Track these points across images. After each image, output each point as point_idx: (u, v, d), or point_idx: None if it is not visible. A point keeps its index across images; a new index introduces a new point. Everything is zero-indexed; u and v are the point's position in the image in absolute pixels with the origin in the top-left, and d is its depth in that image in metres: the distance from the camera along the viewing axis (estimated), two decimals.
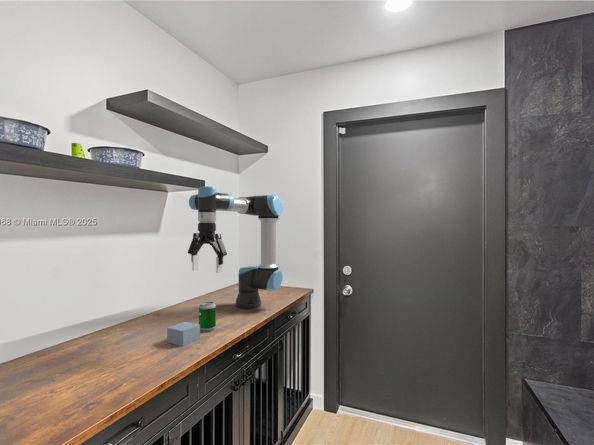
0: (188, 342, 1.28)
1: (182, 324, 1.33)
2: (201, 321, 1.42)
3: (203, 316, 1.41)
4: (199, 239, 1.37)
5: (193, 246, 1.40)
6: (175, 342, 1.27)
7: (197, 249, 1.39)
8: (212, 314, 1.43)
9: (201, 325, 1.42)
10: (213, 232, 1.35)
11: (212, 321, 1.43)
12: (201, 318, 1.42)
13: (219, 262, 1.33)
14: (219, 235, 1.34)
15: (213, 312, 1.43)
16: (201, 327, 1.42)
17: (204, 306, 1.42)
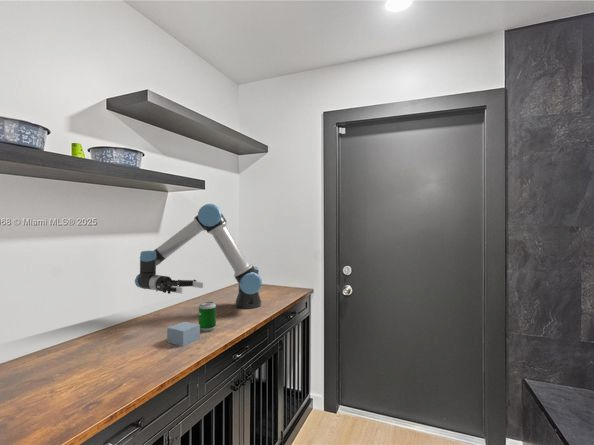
0: (188, 342, 1.28)
1: (182, 324, 1.33)
2: (201, 321, 1.42)
3: (203, 316, 1.41)
4: None
5: None
6: (175, 342, 1.27)
7: (187, 284, 1.58)
8: (212, 314, 1.43)
9: (201, 325, 1.42)
10: None
11: (212, 321, 1.43)
12: (201, 318, 1.42)
13: None
14: (157, 286, 1.49)
15: (213, 312, 1.43)
16: (201, 327, 1.42)
17: (204, 306, 1.42)
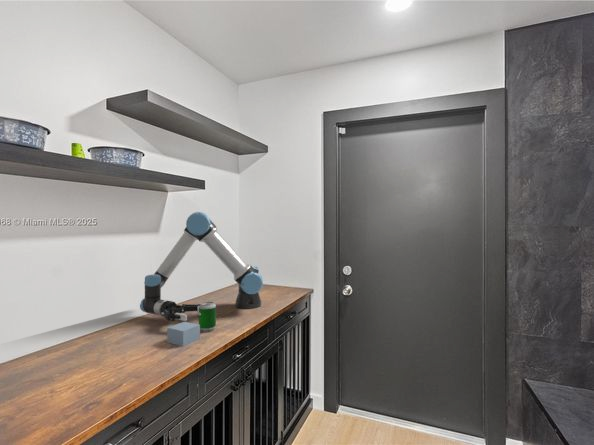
0: (188, 342, 1.28)
1: (182, 324, 1.33)
2: (201, 321, 1.42)
3: (203, 316, 1.41)
4: None
5: None
6: (175, 342, 1.27)
7: (191, 309, 1.56)
8: (212, 314, 1.43)
9: (201, 325, 1.42)
10: (165, 311, 1.51)
11: (212, 321, 1.43)
12: (201, 318, 1.42)
13: None
14: (162, 312, 1.48)
15: (213, 312, 1.43)
16: (201, 327, 1.42)
17: (204, 306, 1.42)
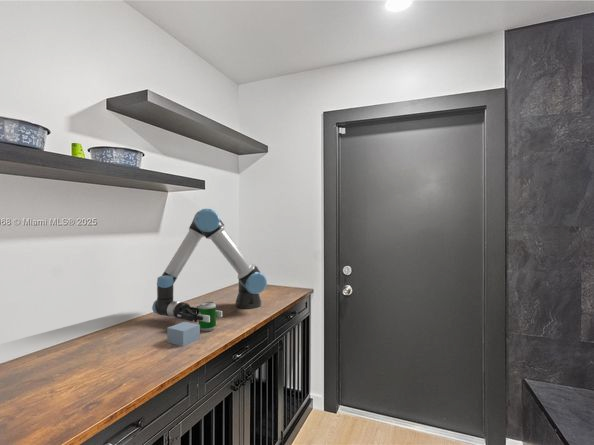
0: (188, 342, 1.28)
1: (182, 324, 1.33)
2: (201, 321, 1.42)
3: None
4: None
5: None
6: (175, 342, 1.27)
7: None
8: (212, 314, 1.43)
9: (201, 325, 1.42)
10: None
11: (212, 321, 1.43)
12: None
13: None
14: (178, 315, 1.44)
15: (213, 312, 1.43)
16: (201, 327, 1.42)
17: (204, 306, 1.42)
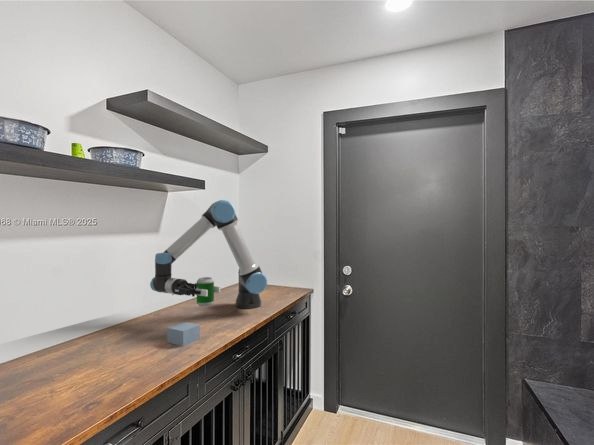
0: (188, 342, 1.28)
1: (182, 324, 1.33)
2: (199, 296, 1.41)
3: None
4: None
5: None
6: (175, 342, 1.27)
7: None
8: (210, 288, 1.42)
9: (199, 300, 1.41)
10: None
11: (210, 296, 1.42)
12: None
13: (198, 294, 1.39)
14: (176, 290, 1.43)
15: (211, 287, 1.42)
16: (199, 302, 1.41)
17: (202, 280, 1.41)
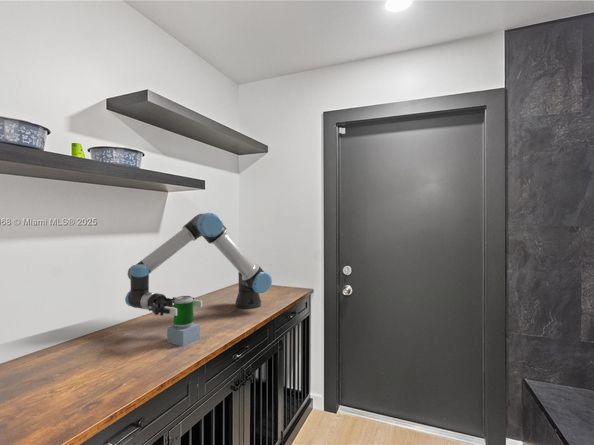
0: (188, 342, 1.28)
1: None
2: (176, 317, 1.28)
3: (178, 312, 1.27)
4: None
5: None
6: (175, 342, 1.27)
7: None
8: (189, 309, 1.29)
9: (176, 321, 1.28)
10: None
11: (189, 317, 1.29)
12: None
13: None
14: (149, 306, 1.31)
15: (190, 307, 1.29)
16: (176, 323, 1.28)
17: (179, 300, 1.28)
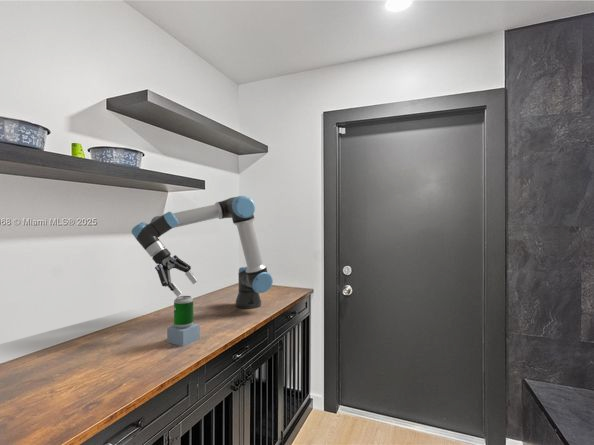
0: (188, 342, 1.28)
1: None
2: (176, 317, 1.28)
3: (178, 312, 1.27)
4: None
5: None
6: (175, 342, 1.27)
7: (181, 269, 1.50)
8: (189, 309, 1.29)
9: (176, 321, 1.28)
10: (159, 262, 1.41)
11: (189, 317, 1.29)
12: (176, 313, 1.28)
13: None
14: (157, 267, 1.38)
15: (190, 307, 1.29)
16: (176, 323, 1.28)
17: (179, 300, 1.28)
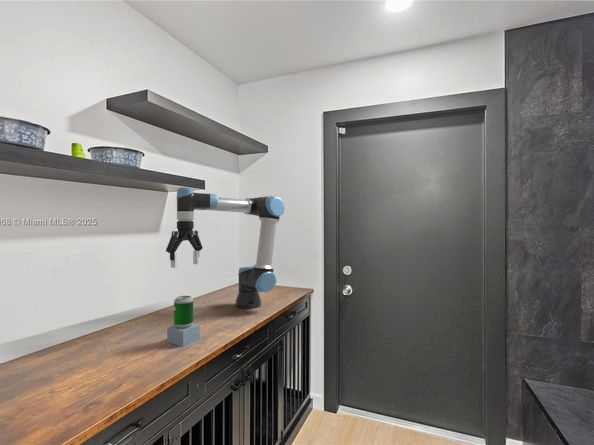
0: (188, 342, 1.28)
1: None
2: (176, 317, 1.28)
3: (178, 312, 1.27)
4: None
5: (196, 242, 1.55)
6: (175, 342, 1.27)
7: (193, 245, 1.53)
8: (189, 309, 1.29)
9: (176, 321, 1.28)
10: (178, 230, 1.45)
11: (189, 317, 1.29)
12: (176, 313, 1.28)
13: None
14: (173, 233, 1.42)
15: (190, 307, 1.29)
16: (176, 323, 1.28)
17: (179, 300, 1.28)
